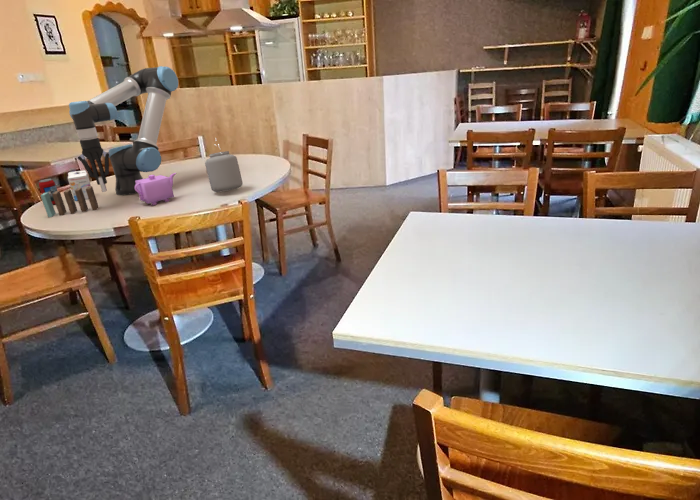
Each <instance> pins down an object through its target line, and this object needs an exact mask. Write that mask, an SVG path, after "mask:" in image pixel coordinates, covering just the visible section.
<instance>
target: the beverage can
mask: <svg viewBox="0 0 700 500" xmlns="http://www.w3.org/2000/svg"><path fill="white" fill-rule="evenodd" d="M38 187H39V190H40V192H41V195H42V194H43V193H47V192H48V193H49V196H50V199H51V202H52V205H53V206H56V204H55V201H54V198H53V195H52V194H53V193H54V192H55V191H58V188H57V186H56V183H55V181H54V180H53V179H52V178H45V179H40V180H38Z"/></svg>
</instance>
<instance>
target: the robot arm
mask: <svg viewBox="0 0 700 500" xmlns="http://www.w3.org/2000/svg"><path fill="white" fill-rule="evenodd" d="M178 87H179V78H178V76H177V73H176V72H175V71H174V69H172V67H171V68H170V67H169V66H163V65H162V66H161V65H159V66H157V67H145V68H142V69H139V70H137V71H136V72H133V73H132V74H130V75H128V76H126V77H125V78H124V79H123V81H122V82H120V83H119V84H117V85H115V86H113V87H111V88H109V89H107V90H106V91H104V92H101V93H100V94H98V95H96V96H94V97H92V98H90V99H88V100H79V101H71V102H69V103H68V108H69V116H70V118H71V120H72V121H73V125H74V128H75V132H76V133H77V138H78V139H79V144H80V147H81V155H79V156H77V159H78V161H80V162H81V164H82V165H83V167H84V168H85V171H86V173H87V174H88V176H89V177H91V178H95V181H96V184H97V185H99V187H100V189H101V192H102V193H105V192H107V191H108V190H107V185H106V184H107V183H108V180H107V177H106V176H108V175H109V174H110V167H109V166H110V164H109V162H110V163H111V166H112V170H113V173H114V176H115V188H114V189H115V194H116V195H117V196H118V195H119V196H127V195H134V194H139V193H138V192H136V190H135V185H136V183H135V181H137V180H141V179H144V177H143V176H142V174H141V173H151V172H152V173H153V172H154V171H156V170H158V169H159V167H160V166H161V163H162V156H161V152H160V150H159V146H158V145H157V144H158V143H157V142H158V138H159V134H160V130H161V129H160V128H161V126H162V125H161V124H162V122H163V121H162V120H163V116H164V112H165V107H166V104H167V100H169V99H171V97H172V93H173V92H174V91H176V90H177V89H178ZM143 94H147V99H146V103H145V108H144V111H143V115H142V119H141V122H140V123H141V124H140V127H139V132H138V136H137V139H135V140H133V142H132V143H131V144H127V145H121V146H117V147H112V148H109V149H108V151H105V150H104V148H103V147H102V145H101V142H100V139H99V138H98V137H99V135H98V132H97V128H96V123H102V122H109V121H113V120H115V119H117V117H118V110H117V107H116V106H118V105H119V104H120V105H121V104H123V102H125V101H128V100H129V99H131V98H132V97H138V96H141V95H143ZM102 157H104V167H103V164H102V163H103V162H102ZM86 159H88V160H89V163H90V165H89V163H88V162H87V160H86ZM96 163H97V164H96ZM97 166H98V168H97ZM99 174H100V175H99Z"/></svg>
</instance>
